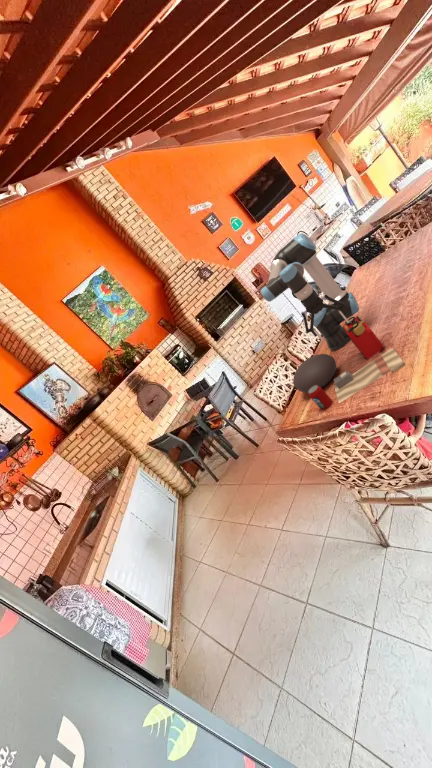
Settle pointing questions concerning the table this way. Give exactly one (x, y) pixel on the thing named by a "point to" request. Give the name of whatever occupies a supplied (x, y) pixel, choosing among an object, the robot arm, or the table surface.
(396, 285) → the table surface
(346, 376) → the block
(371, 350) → the red mechanical device
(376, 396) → the table surface
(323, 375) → the flattened ellipsoid
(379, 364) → the subfloor panel
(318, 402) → the beverage can
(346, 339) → the robot arm
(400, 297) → the table surface
